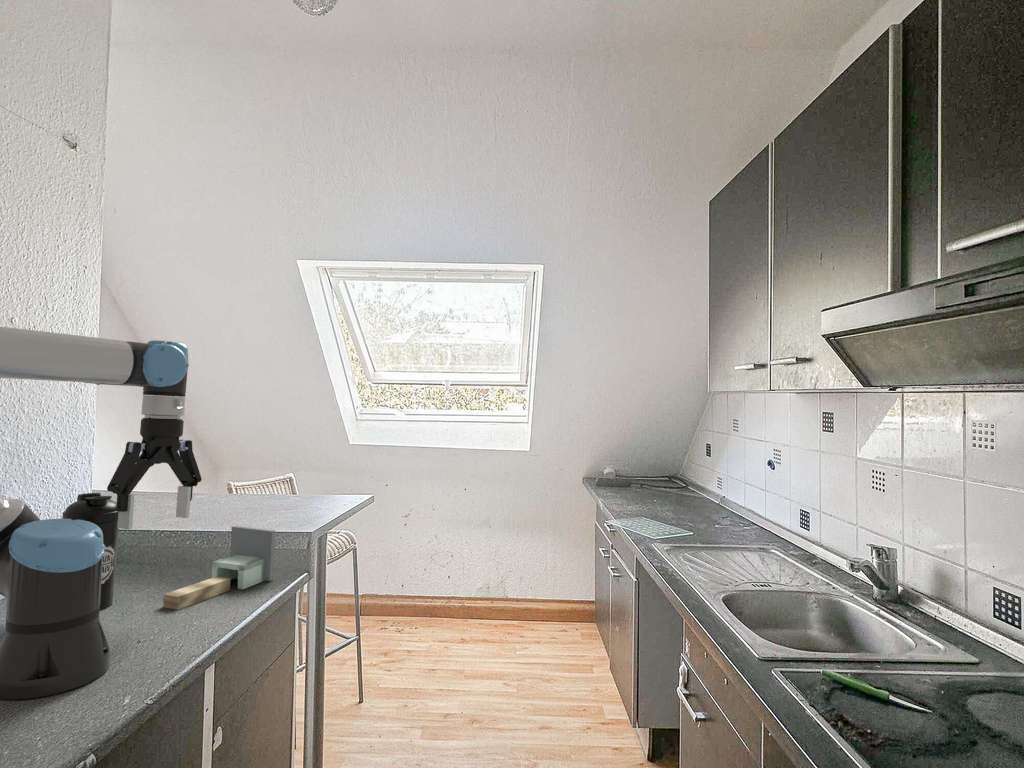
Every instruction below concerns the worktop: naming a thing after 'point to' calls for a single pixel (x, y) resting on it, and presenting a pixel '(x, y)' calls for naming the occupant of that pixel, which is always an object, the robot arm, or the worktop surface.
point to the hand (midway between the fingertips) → (155, 522)
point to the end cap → (248, 557)
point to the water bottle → (106, 518)
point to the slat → (196, 592)
